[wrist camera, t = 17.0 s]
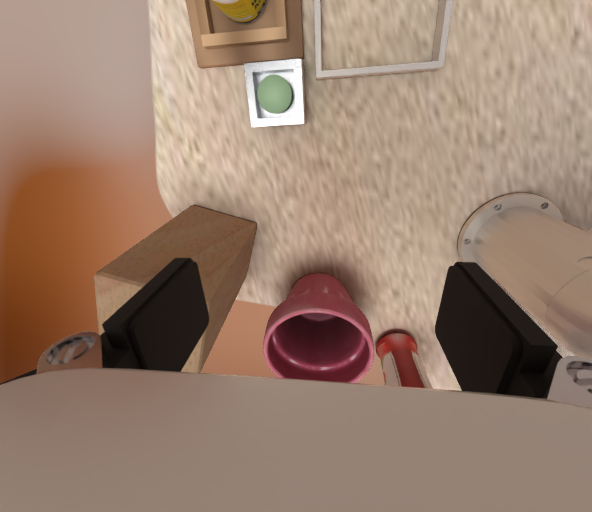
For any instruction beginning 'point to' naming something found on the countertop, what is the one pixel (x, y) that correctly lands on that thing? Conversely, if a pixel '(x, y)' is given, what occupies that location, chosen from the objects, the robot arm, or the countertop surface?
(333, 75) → the frame
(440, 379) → the countertop surface
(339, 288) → the plant pot
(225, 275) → the wooden block
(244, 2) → the supplement bottle
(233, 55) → the brown wooden square tray
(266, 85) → the button
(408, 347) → the liquor
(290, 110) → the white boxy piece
